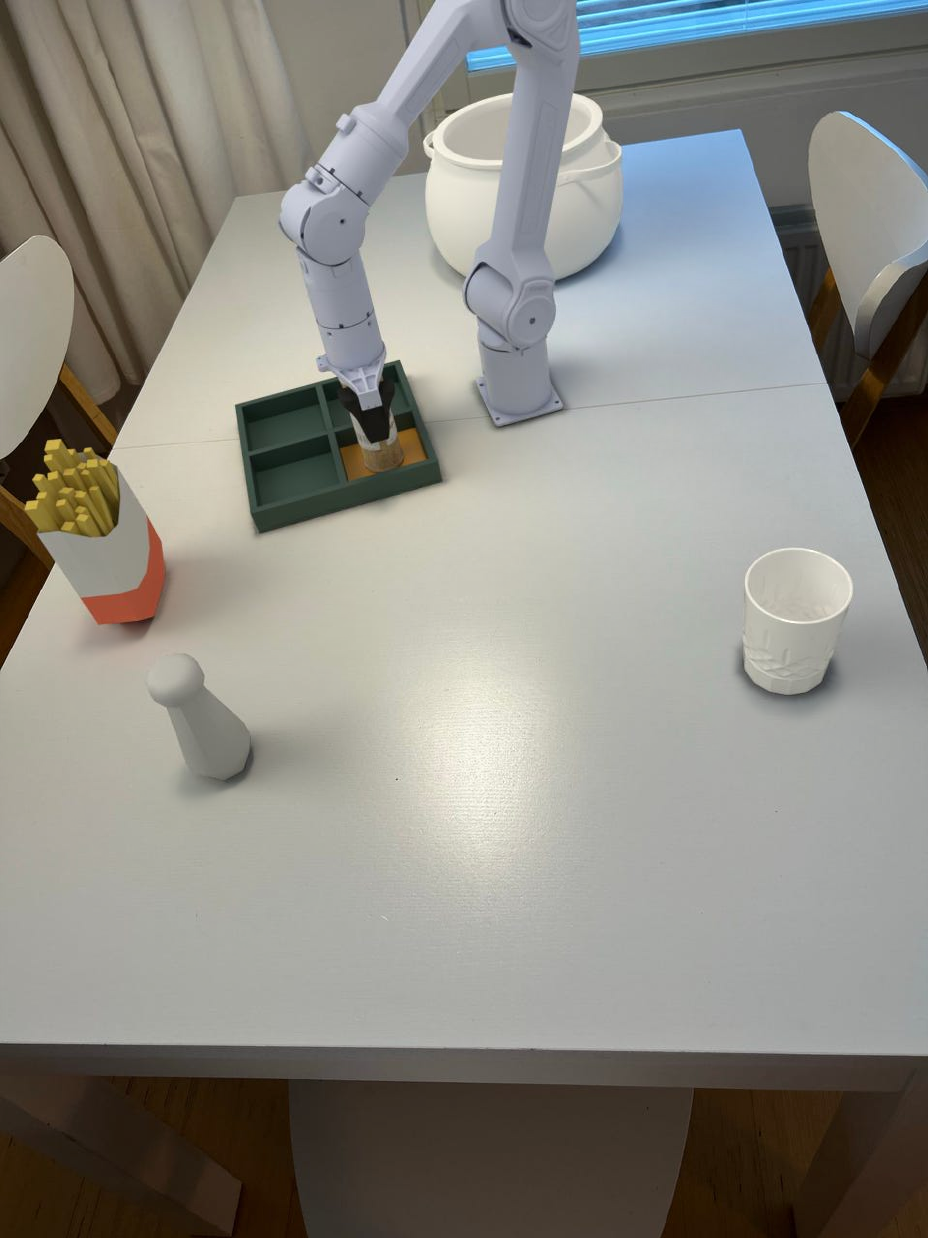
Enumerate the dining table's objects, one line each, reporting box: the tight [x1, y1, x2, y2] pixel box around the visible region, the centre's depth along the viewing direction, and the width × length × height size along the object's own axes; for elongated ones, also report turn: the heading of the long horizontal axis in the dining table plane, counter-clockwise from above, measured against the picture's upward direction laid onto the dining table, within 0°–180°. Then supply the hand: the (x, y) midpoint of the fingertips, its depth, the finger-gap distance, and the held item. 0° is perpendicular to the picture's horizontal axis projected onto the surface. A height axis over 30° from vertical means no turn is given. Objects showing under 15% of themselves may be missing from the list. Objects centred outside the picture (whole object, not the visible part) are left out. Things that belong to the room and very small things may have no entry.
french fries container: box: [24, 438, 166, 626], centre depth 90 cm, size 5×11×18 cm, turn 0°
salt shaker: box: [144, 652, 252, 782], centre depth 77 cm, size 6×6×13 cm
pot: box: [422, 92, 624, 281], centre depth 125 cm, size 29×26×16 cm
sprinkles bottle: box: [338, 374, 404, 473], centre depth 99 cm, size 5×5×13 cm
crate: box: [234, 359, 443, 534], centre depth 106 cm, size 20×20×3 cm
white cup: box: [742, 547, 854, 696], centre depth 76 cm, size 8×8×10 cm
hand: (375, 425), depth 100 cm, fingers closed on sprinkles bottle, 4 cm apart
